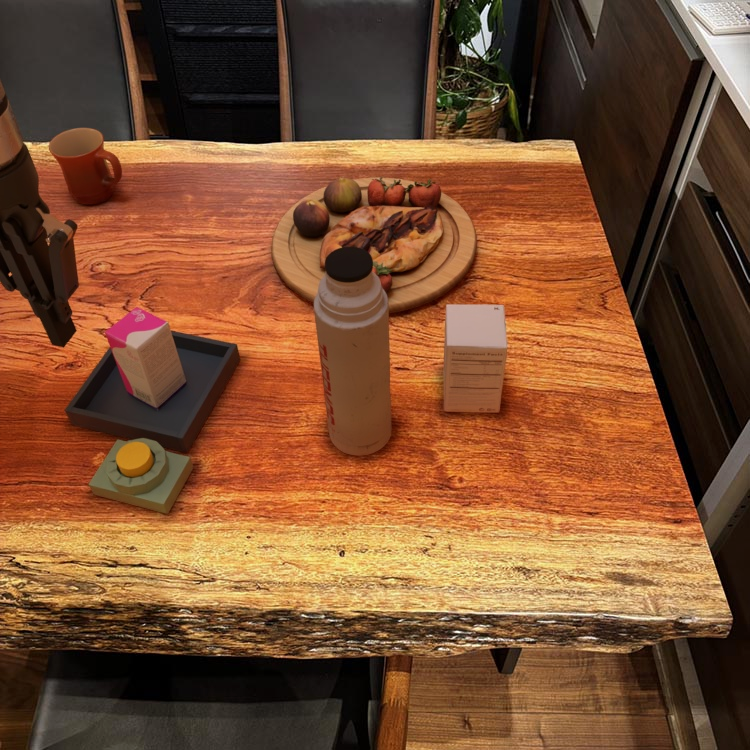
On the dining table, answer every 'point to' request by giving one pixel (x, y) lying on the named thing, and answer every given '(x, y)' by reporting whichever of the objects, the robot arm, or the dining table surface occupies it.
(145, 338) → the supplement box
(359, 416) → the thermos bottle
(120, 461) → the button
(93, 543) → the dining table surface
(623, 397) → the dining table surface
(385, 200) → the wooden plate
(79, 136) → the mug
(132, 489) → the control block
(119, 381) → the tray
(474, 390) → the white packaging box
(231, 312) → the dining table surface
